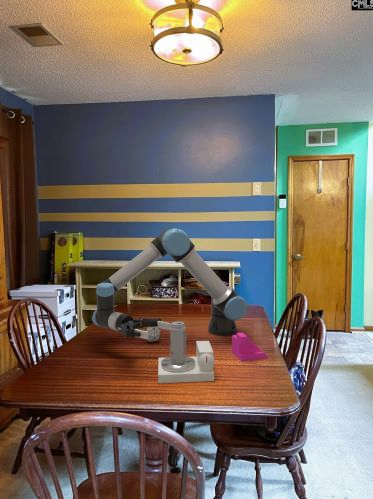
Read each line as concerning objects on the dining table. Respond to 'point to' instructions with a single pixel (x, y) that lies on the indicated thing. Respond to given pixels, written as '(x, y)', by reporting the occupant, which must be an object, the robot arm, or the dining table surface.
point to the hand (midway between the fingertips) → (159, 331)
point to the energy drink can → (177, 343)
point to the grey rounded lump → (153, 333)
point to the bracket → (246, 348)
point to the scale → (198, 373)
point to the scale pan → (184, 367)
